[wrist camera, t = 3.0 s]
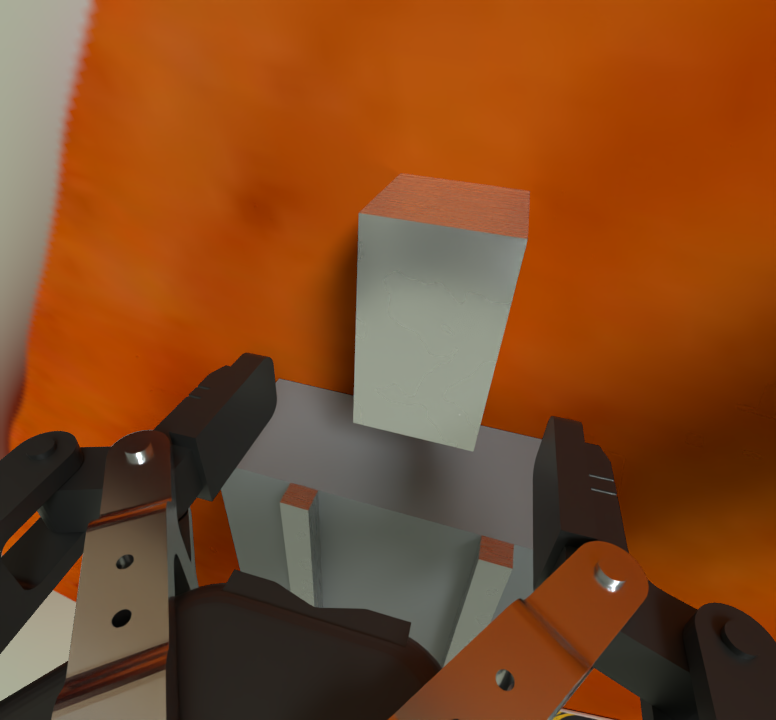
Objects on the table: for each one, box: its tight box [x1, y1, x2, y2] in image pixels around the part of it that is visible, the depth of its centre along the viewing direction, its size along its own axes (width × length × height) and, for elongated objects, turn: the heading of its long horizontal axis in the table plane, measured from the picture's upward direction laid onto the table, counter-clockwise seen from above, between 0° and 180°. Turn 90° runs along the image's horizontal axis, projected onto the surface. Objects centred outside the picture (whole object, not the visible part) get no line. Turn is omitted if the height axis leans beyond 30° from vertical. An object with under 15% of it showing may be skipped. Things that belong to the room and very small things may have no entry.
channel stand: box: [221, 379, 542, 668], centre depth 25 cm, size 20×16×9 cm
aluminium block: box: [353, 173, 530, 451], centre depth 16 cm, size 8×5×5 cm, turn 176°
